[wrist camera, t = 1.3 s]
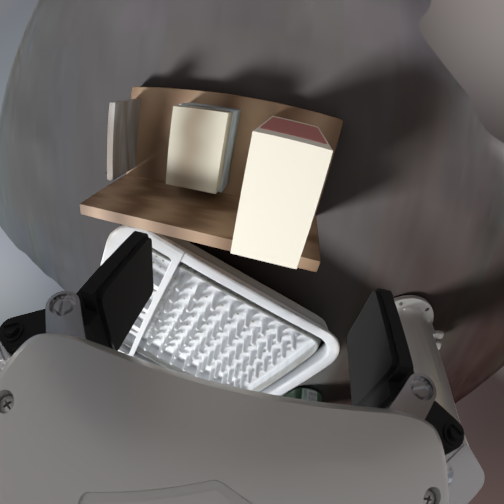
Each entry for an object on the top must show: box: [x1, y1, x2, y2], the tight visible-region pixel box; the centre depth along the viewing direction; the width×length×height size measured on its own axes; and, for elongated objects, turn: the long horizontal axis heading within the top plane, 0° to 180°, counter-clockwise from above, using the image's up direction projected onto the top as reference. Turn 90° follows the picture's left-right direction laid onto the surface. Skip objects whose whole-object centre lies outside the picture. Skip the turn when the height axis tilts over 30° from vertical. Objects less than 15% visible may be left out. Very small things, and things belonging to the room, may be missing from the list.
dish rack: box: [101, 225, 340, 396], centre depth 45 cm, size 32×37×8 cm
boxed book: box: [230, 116, 333, 269], centre depth 24 cm, size 5×9×14 cm, turn 170°
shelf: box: [80, 87, 343, 272], centre depth 27 cm, size 25×13×12 cm, turn 80°
